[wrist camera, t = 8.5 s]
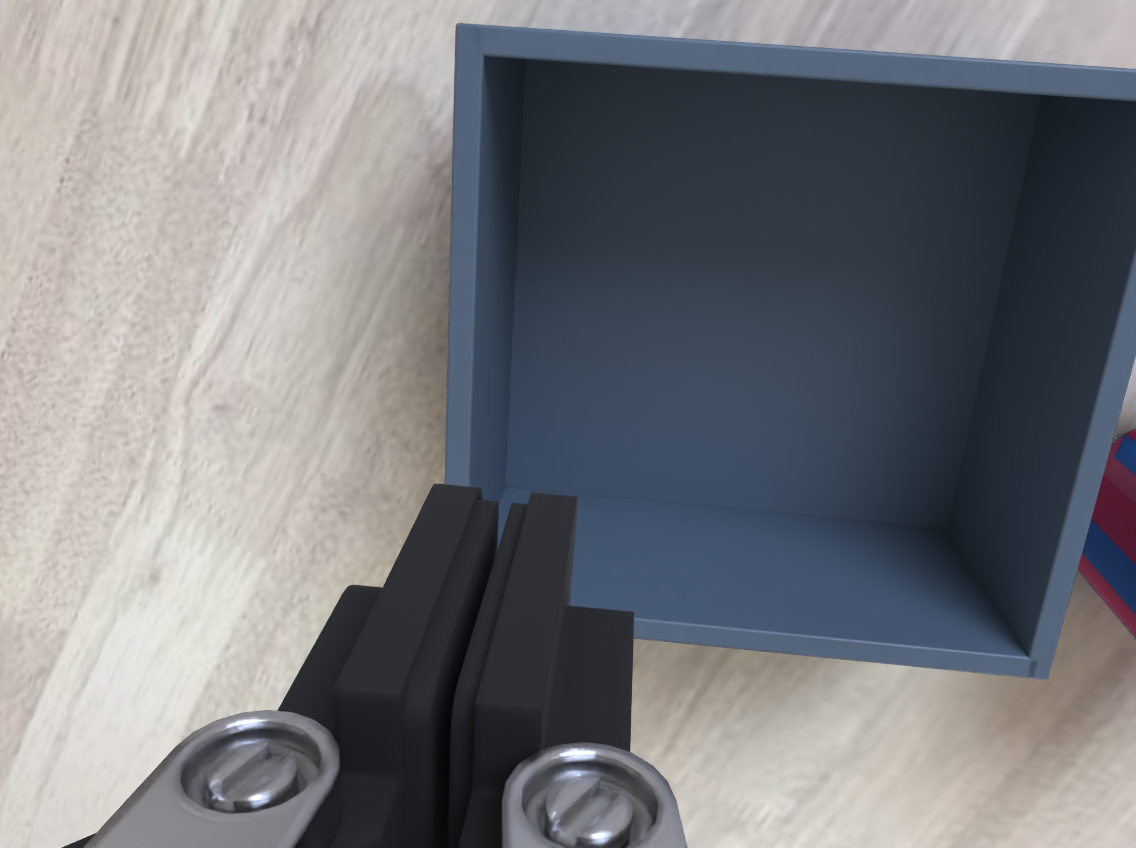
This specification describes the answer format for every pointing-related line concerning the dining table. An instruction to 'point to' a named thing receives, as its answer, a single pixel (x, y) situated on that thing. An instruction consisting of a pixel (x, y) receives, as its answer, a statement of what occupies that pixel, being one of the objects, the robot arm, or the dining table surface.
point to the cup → (1115, 534)
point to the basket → (795, 332)
